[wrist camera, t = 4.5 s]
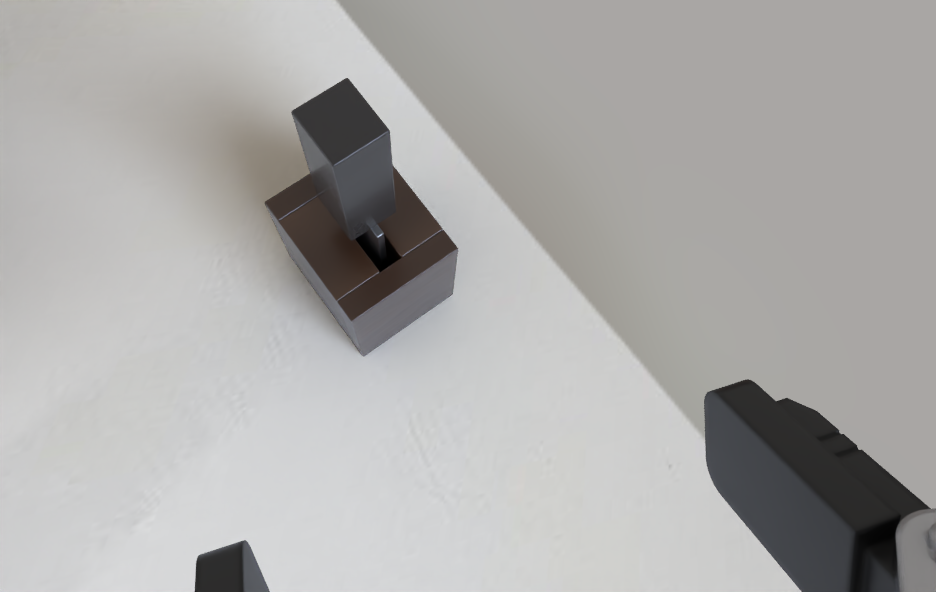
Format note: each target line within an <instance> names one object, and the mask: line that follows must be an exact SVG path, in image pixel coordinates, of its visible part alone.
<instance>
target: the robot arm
mask: <svg viewBox="0 0 936 592" xmlns="http://www.w3.org/2000/svg"><path fill="white" fill-rule="evenodd" d="M704 404H705V405H704V409H705V443H706V462H707V467H708V471H709V474H710V476H711V479H712V481H713V483H714V485H715V487H716V489H717V490H718V492H719V493H720V494H721V496H722V497H723V498H724V499H725V500H726V502H727V503H728V504H729V505H730V506H731V508H732V509H733V510H734V511H735V512H736V514H737V515H738V516H739V517H740V518H741V520H742V521H743V522H744V523H745V524H746V526H747V527H748V528H749V529H750V530H751V531H752V533H753V534H754V535H755V536H756V537H757V539H758V540H759V541H760V542H761V543H762V545H763V546H764V547H765V548H766V549H767V551H768V552H769V553H770V554H771V555H772V557H773V558H774V559H775V560H776V561H777V563H778V564H779V565H780V566H781V567H782V569H783V570H784V571H785V572H786V573H787V575H788V576H789V577H790V578H791V579H792V581H793V582H794V583H795V584H796V585H797V586H798V588H799V589H800V590H801V591H802V592H936V509H931V508H929V507H928V506H927V505H926V504H924V503H923V502H922V501H921V500H920V499H919V498H917V497H916V496H915V495H914V494H913V493H912V492H910V491H909V490H908V489H907V488H906V487H905V486H903V485H902V484H901V483H900V482H899V481H898V480H896V479H895V478H894V477H893V476H892V475H890V474H889V473H888V472H887V471H886V470H885V469H883V468H882V467H881V466H880V465H879V464H878V463H877V462H875V461H874V460H873V459H872V458H871V457H870V456H869V455H867V454H866V453H865V452H864V451H863V450H858V448H857V445H856V444H854V443H853V442H852V441H851V440H850V439H849V438H847V437H846V436H845V435H844V434H840V433H839V430H838V429H837V428H836V427H835V426H833V425H832V424H831V423H830V422H829V421H828V420H827V419H825V418H824V417H823V416H822V415H821V414H820V413H818V412H817V411H815V410H813V409H811V408H808V407H806V406H804V405H802V404H799V403H797V402H795V401H793V400H790V399H788V398H785V399H782V400H779V401H775V400H774V399H773V398H772V397H770V396H769V395H768V394H767V393H766V392H765V391H764V390H763V389H762V388H760V387H759V386H758V385H757V384H756V383H755V382H753V381H751V380H743V381H741V382H737V383H734V384H731V385H728V386H725V387H722V388H719V389H716V390H712V391H710V392H708V393H707V394H706V396H705V400H704ZM195 592H270V591H269V589H268V587H267V584H266V582H265V580H264V577H263V575H262V573H261V570H260V568H259V566H258V563H257V561H256V559H255V557H254V554H253V552H252V550H251V547H250V545H249V544H248V542H247V541H246V540H244V541H241V542H238V543H235V544H232V545H229V546H225V547H222V548H219V549H216V550H213V551H210V552H207V553H204V554H201V555H199V556H198V558H197V562H196V580H195Z"/></svg>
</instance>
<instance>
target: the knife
mask: <svg viewBox="0 0 936 592" xmlns="http://www.w3.org/2000/svg"><path fill="white" fill-rule="evenodd" d="M292 116H293V119H294V122H295V125H296V129H297V132H298V135H299V138H300V142H301V145H302V148H303V151H304V154H305V158H306V161H307V164H308V167H309V170H310V174H311V177H312V180H313V183H314V187H315V190H316V193H317V196H318V198H319V199H320V201H321V202H322V203H323V205H324V206H325V207H326V209H327V210H328V211H329V213H330V214H331V215H332V217H333V218H334V219H335V221H336V222H337V223H338V225H339V226H340V227H341V229H342V230H343V231H344V233H345V234H346V235H347V237H348V238H349V239H350V240H351V241H353V240H354V239H355V240H356V241H357V242H358V244H359V245H360V246H361V247H362V249H363V250H364V251H365V253H366V254H367V255H368V257H369V258H370V259H371V261H372V262H373V263H374V265H375V266H376V267H377V269H378V270H379V272H381V271H383V270H384V269H386V268H387V267H388V262H387V254H386V246H385V239H384V233H383V231H382V230H381V229H380V227H379V226H378V225H377V224H379V223H380V222H382V221H383V220H385V219H386V218H388V217H389V216H391V215H392V214H394V213H395V212H396V203H395V191H394V179H393V166H392V154H391V142H390V131H389V129H388V128H387V127H386V125H385V124H384V123H383V122H382V120H381V119H380V118H379V117H378V115H377V114H376V113H375V112H374V110H373V109H372V108H371V106H370V105H369V104H368V103H367V101H366V100H365V99H364V98H363V96H362V95H361V94H360V93H359V91H358V90H357V89H356V88H355V86H354V85H353V84H352V83H351V81H350V80H349V79H348V78H346V79H344V80H342V81H341V82H339V83H337V84H336V85H334V86H332V87H331V88H329V89H327V90H326V91H324V92H322V93H321V94H319V95H318V96H316V97H314V98H313V99H311V100H309V101H308V102H306V103H304V104H303V105H301V106H299V107H298V108H296V109H294V110H293V111H292Z"/></svg>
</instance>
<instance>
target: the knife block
mask: <svg viewBox="0 0 936 592" xmlns="http://www.w3.org/2000/svg"><path fill="white" fill-rule="evenodd" d="M392 166H393V165H392ZM393 179H394V191H395V203H396V212H395V213H394V214H392V215H391V216H389V217H388V218H386V219H385V220H383V221H382V222H380V223H379V224H377V225H378V226H379V227H380V229H381V230H382V231H383V233H384V239H385V246H386V254H387V262H388V267H387V268H386V269H384V270H383V271H381V272H379V270H378V269H377V267H376V266H375V265H374V263H373V262H372V261H371V259H370V258H369V257H368V255H367V254H366V253H365V251H364V250H363V249H362V247H361V246H360V245H359V244H358V242H357V241H356V240H355V239H354V240H353V241H351V240H350V239H349V238H348V237H347V235H346V234H345V233H344V231H343V230H342V229H341V227H340V226H339V225H338V223H337V222H336V221H335V219H334V218H333V217H332V215H331V214H330V213H329V211H328V210H327V209H326V207H325V206H324V205H323V203H322V202H321V201H320V199H319V198H318V196H317V193H316V190H315V187H314V183H313V180H312V177H311V174H309V175H307V176H305V177H304V178H302V179H301V180H299V181H298V182H296V183H294V184H293V185H291V186H290V187H288V188H286V189H285V190H283V191H282V192H280V193H278V194H277V195H275V196H274V197H272V198H270V199H269V200H267V201H266V202H265V205H266V207H267V209H268V211H269V213H270V215H271V217H272V220H273V222H274V224H275V226H276V228H277V230H278V232H279V234H280V236H281V238H282V240H283V242H284V244H285V247H286V249H287V251H288V253H289V255H290V256H291V258H292V259H293V261H294V262H295V263H296V265H297V266H298V267H299V269H300V270H301V272H302V273H303V274H304V276H305V277H306V278H307V280H308V281H309V283H310V284H311V285H312V287H313V288H314V289H315V291H316V292H317V294H318V295H319V296H320V298H321V299H322V300H323V302H324V303H325V305H326V306H327V307H328V309H329V310H330V312H331V313H332V314H333V316H334V317H335V318H336V320H337V321H338V323H339V324H340V325H341V327H342V328H343V329H344V331H345V332H346V334H347V335H348V336H349V338H350V339H351V340H352V342H353V343H354V345H355V346H356V347H357V349H358V350H359V351H360V353H361V354H362V356H365V355H367V354H368V353H369V352H371V351H372V350H374V349H375V348H377V347H378V346H379V345H381V344H382V343H384V342H385V341H387V340H388V339H389V338H391V337H392V336H394V335H395V334H397V333H398V332H399V331H401V330H402V329H404V328H405V327H407V326H408V325H409V324H411V323H412V322H414V321H415V320H417V319H418V318H419V317H421V316H422V315H424V314H425V313H427V312H428V311H429V310H431V309H432V308H434V307H435V306H436V305H438V304H439V303H441V302H442V301H444V300H445V299H446V298H448V297H449V296H451V295H452V294H453V287H454V279H455V271H456V262H457V254H458V248H457V246H456V245H455V244H454V243H453V241H452V240H451V239H450V238H449V236H448V235H447V234H446V232H445V231H444V230H443V229H442V227H441V226H440V225H439V224H438V222H437V221H436V220H435V219H434V217H433V216H432V215H431V213H430V212H429V211H428V210H427V208H426V207H425V206H424V204H423V203H422V202H421V201H420V199H419V198H418V197H417V196H416V194H415V193H414V192H413V190H412V189H411V188H410V187H409V185H408V184H407V183H406V182H405V180H404V179H403V178H402V176H401V175H400V174H399V173H398V171H397V170H396V169H395V168H394V166H393Z"/></svg>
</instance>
